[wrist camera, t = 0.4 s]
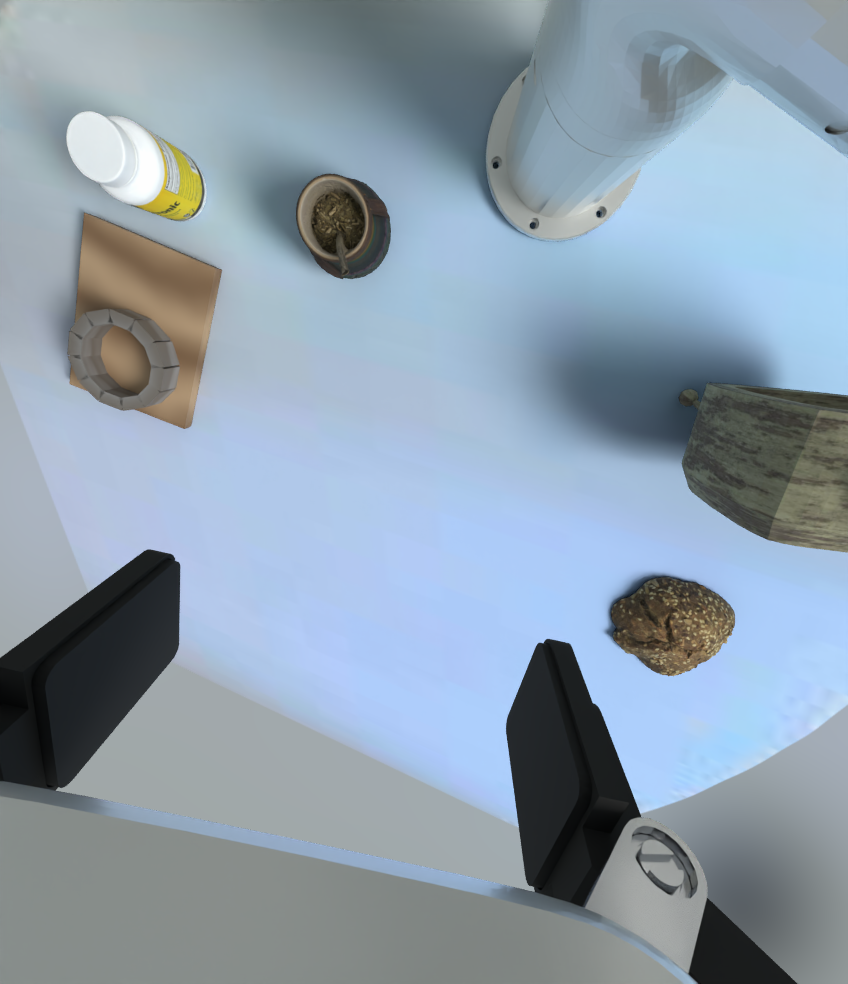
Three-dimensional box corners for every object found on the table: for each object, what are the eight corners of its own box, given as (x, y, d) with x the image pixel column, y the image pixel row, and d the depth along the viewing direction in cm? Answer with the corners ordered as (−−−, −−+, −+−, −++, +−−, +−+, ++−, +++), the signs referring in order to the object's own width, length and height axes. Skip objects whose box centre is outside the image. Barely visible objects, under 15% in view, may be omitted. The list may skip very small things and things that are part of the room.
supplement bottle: (151, 218, 39) (60, 187, 30) (146, 145, 37) (47, 89, 28) (210, 227, 39) (137, 199, 30) (208, 155, 37) (129, 101, 28)
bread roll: (743, 609, 51) (772, 638, 46) (666, 676, 55) (686, 709, 50) (659, 554, 49) (681, 578, 44) (586, 628, 53) (599, 657, 48)
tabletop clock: (823, 389, 41) (1304, 477, 18) (786, 479, 45) (1151, 650, 21) (669, 375, 42) (944, 443, 18) (643, 465, 45) (849, 619, 22)
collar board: (94, 215, 40) (60, 205, 36) (221, 270, 41) (200, 265, 37) (78, 382, 45) (48, 387, 42) (190, 426, 46) (169, 434, 43)
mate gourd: (370, 171, 37) (345, 122, 28) (410, 260, 39) (399, 242, 30) (299, 215, 39) (253, 183, 29) (342, 299, 41) (312, 294, 32)
